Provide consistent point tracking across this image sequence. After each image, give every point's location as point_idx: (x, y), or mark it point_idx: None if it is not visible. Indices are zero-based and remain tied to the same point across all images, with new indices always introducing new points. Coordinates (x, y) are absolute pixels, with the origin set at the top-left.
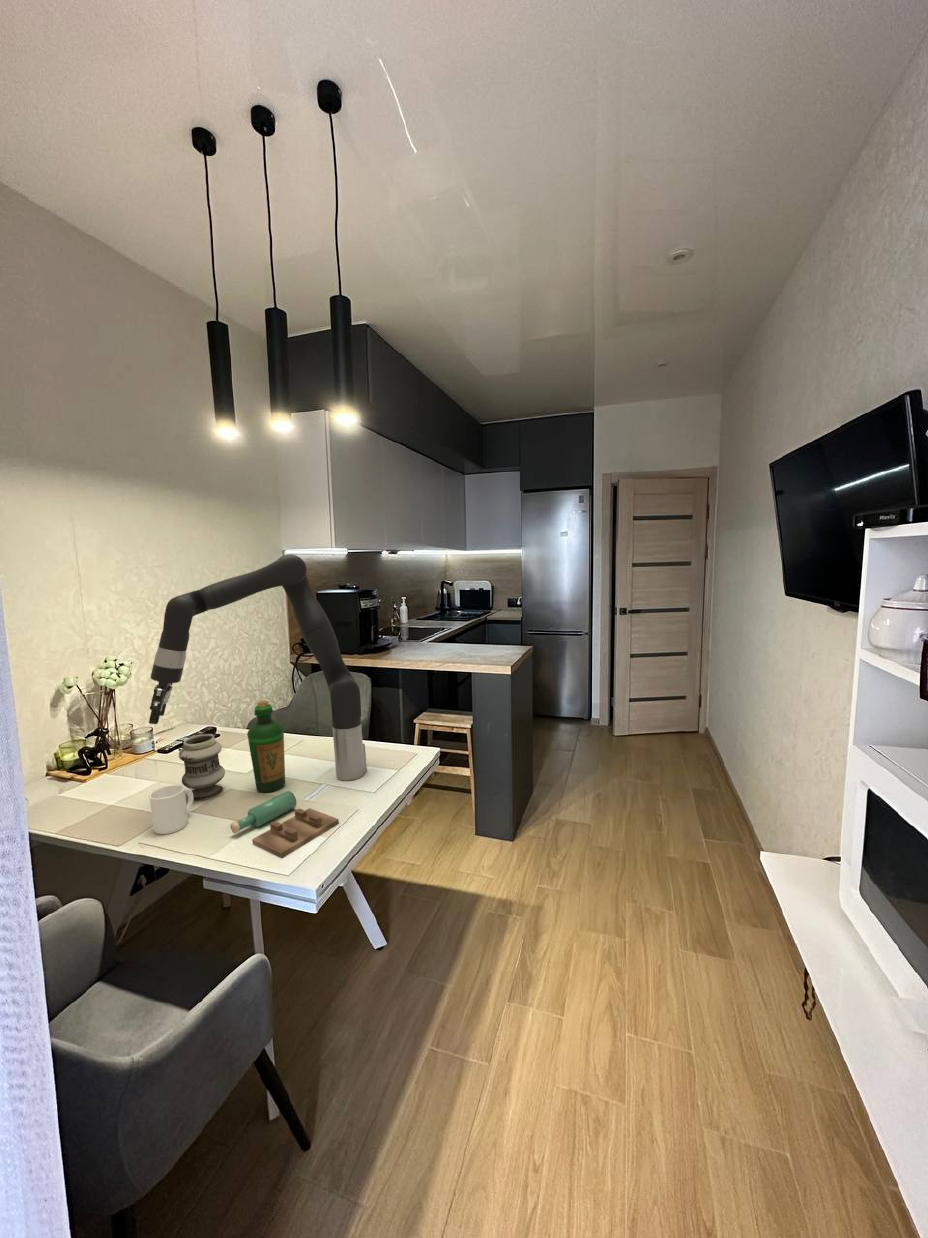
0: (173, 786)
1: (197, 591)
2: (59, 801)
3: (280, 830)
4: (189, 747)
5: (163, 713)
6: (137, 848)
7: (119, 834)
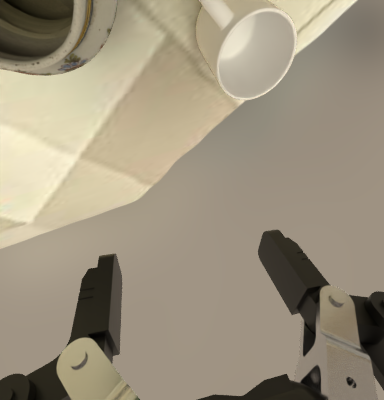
0: (222, 48)
1: None
2: (53, 214)
3: None
4: (82, 27)
5: (114, 263)
6: None
7: (199, 116)
